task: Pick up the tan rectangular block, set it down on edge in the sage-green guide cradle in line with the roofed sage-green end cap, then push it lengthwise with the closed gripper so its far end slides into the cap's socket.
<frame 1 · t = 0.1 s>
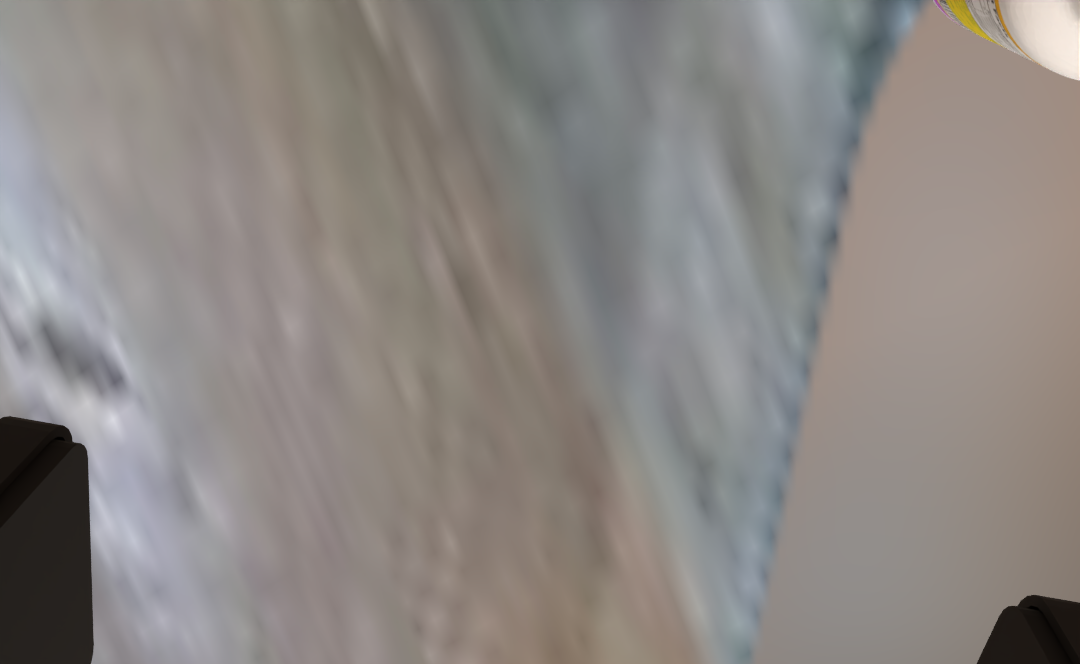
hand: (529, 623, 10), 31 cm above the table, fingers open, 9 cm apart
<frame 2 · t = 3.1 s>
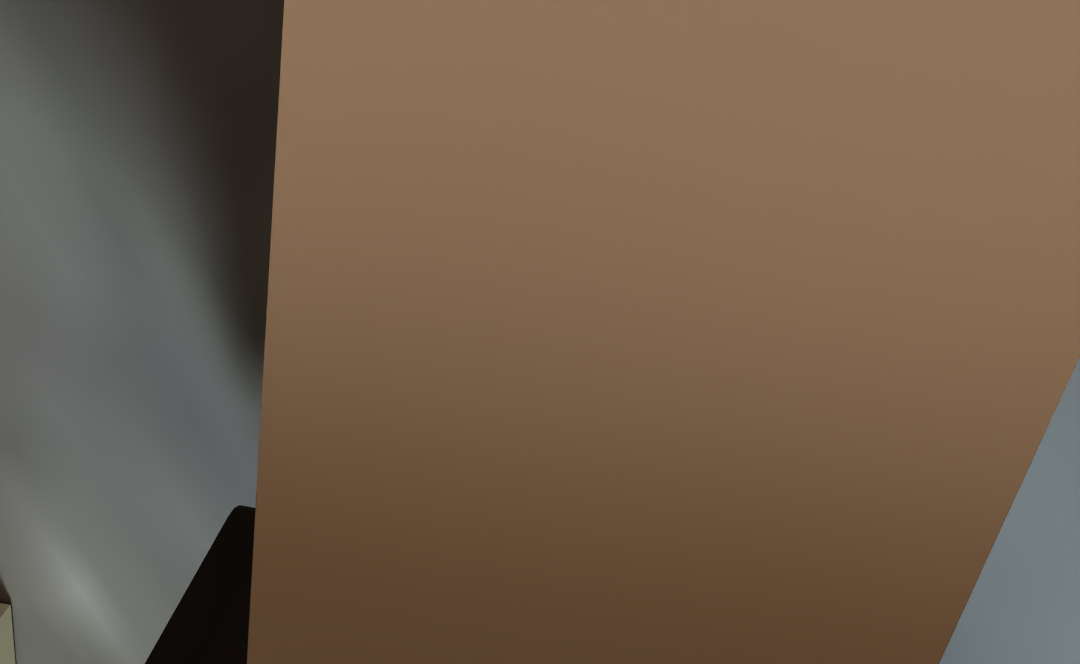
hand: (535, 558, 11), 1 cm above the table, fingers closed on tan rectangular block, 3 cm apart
tan rectangular block: (595, 242, 11), on the table, touching gripper
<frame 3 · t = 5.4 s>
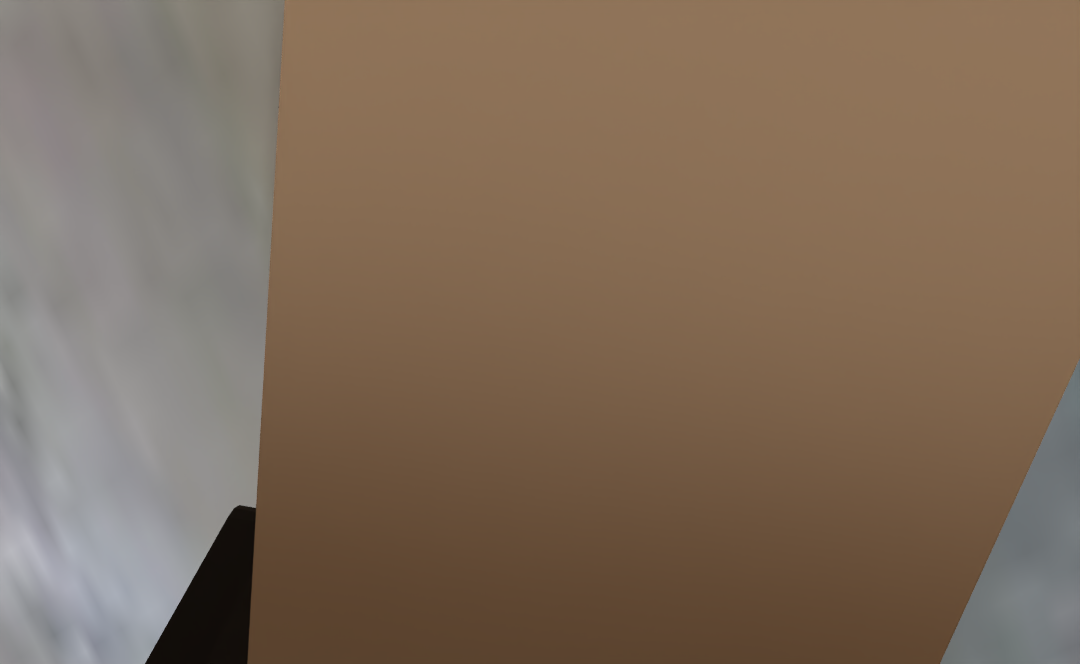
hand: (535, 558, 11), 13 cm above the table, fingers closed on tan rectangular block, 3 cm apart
tan rectangular block: (594, 248, 11), point 12 cm above the table, touching gripper
when the fingers open (2 cm above the table, at t = 7.6 s): tan rectangular block stays where it is, on the table.
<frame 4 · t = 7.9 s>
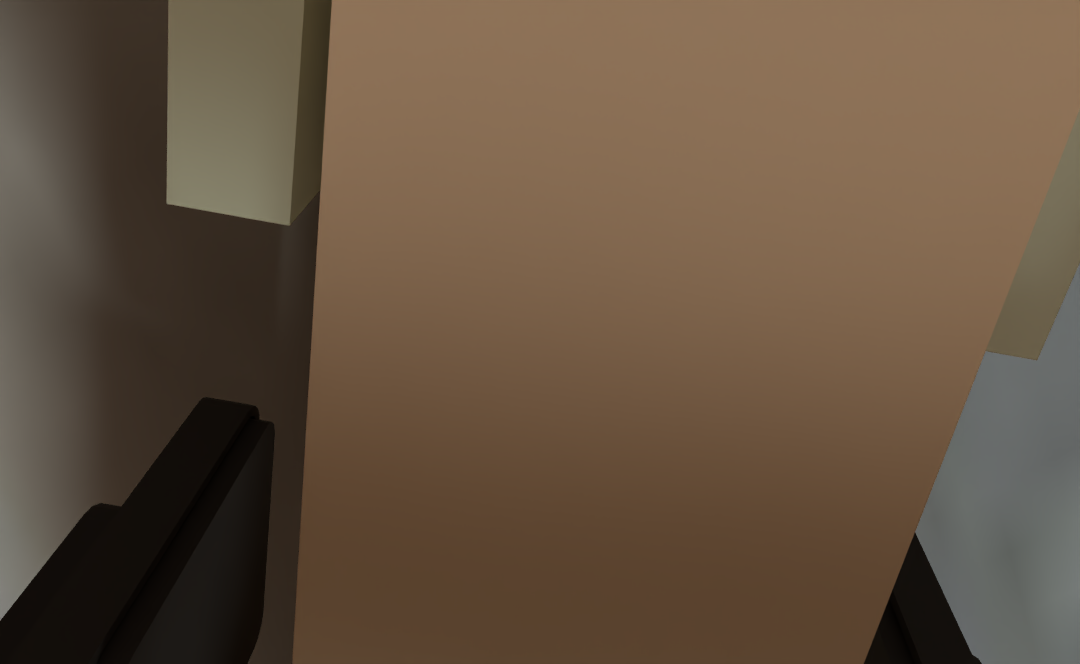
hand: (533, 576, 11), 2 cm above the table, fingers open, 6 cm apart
tan rectangular block: (596, 231, 11), on the table
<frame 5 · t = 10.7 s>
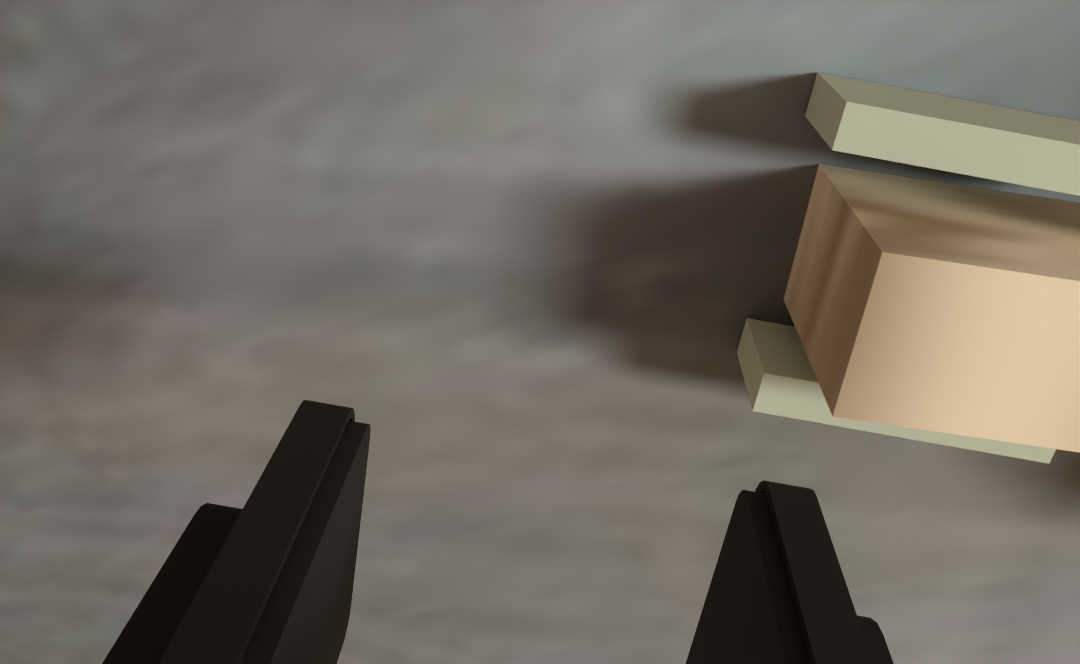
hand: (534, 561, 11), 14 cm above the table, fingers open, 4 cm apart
cradle: (916, 247, 24), on the table
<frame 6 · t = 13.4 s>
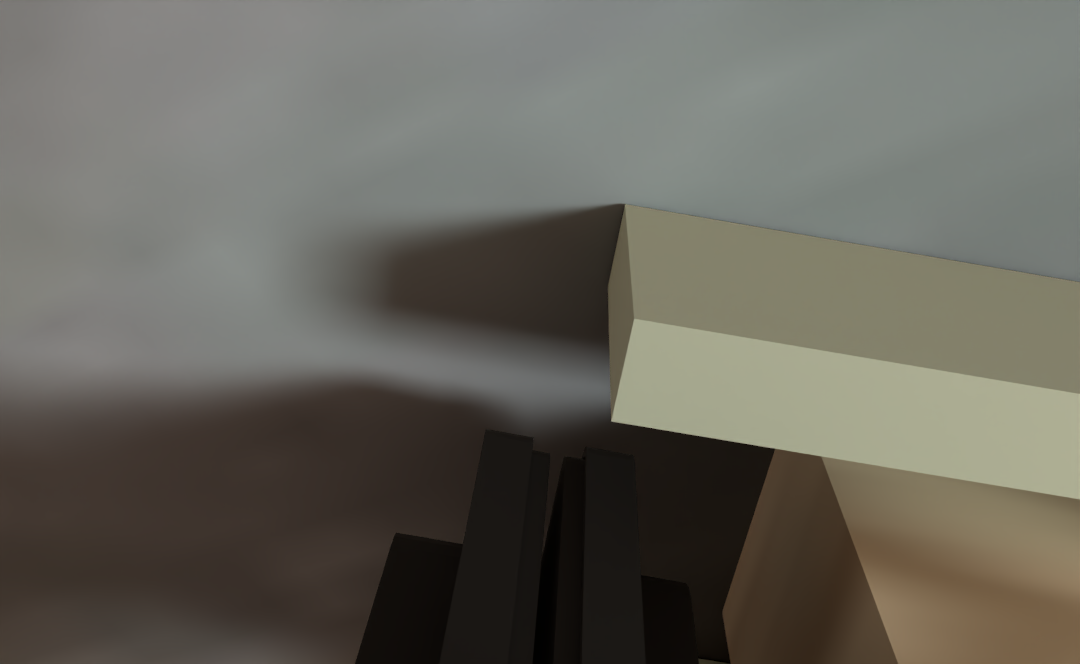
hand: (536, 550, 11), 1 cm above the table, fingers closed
cradle: (842, 520, 13), on the table
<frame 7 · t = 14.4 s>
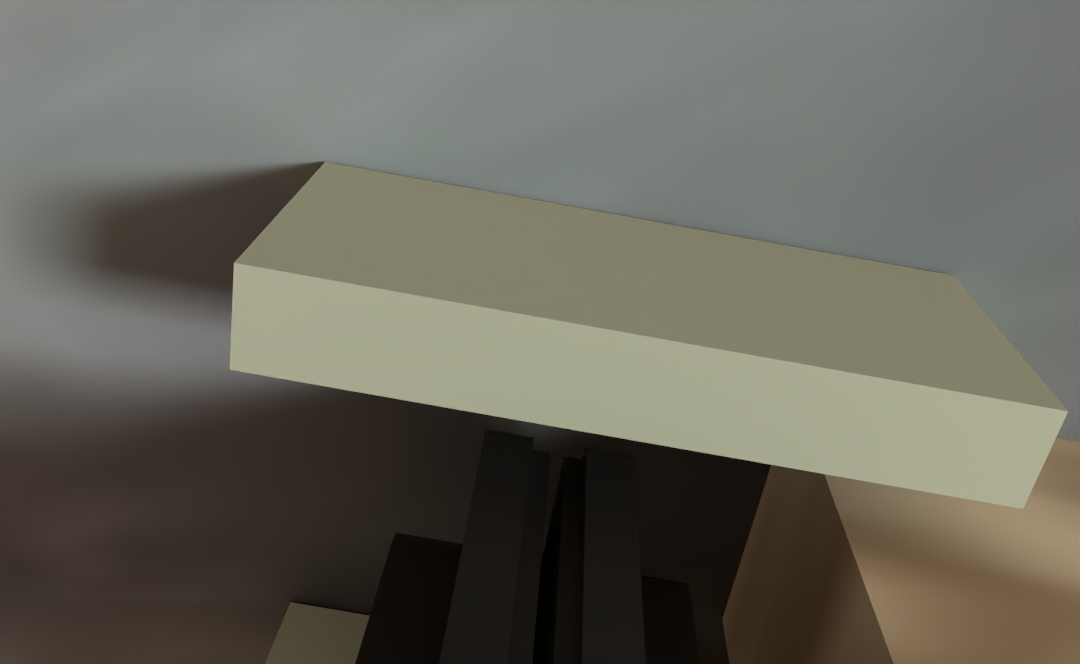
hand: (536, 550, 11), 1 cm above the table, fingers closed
cradle: (580, 488, 13), on the table
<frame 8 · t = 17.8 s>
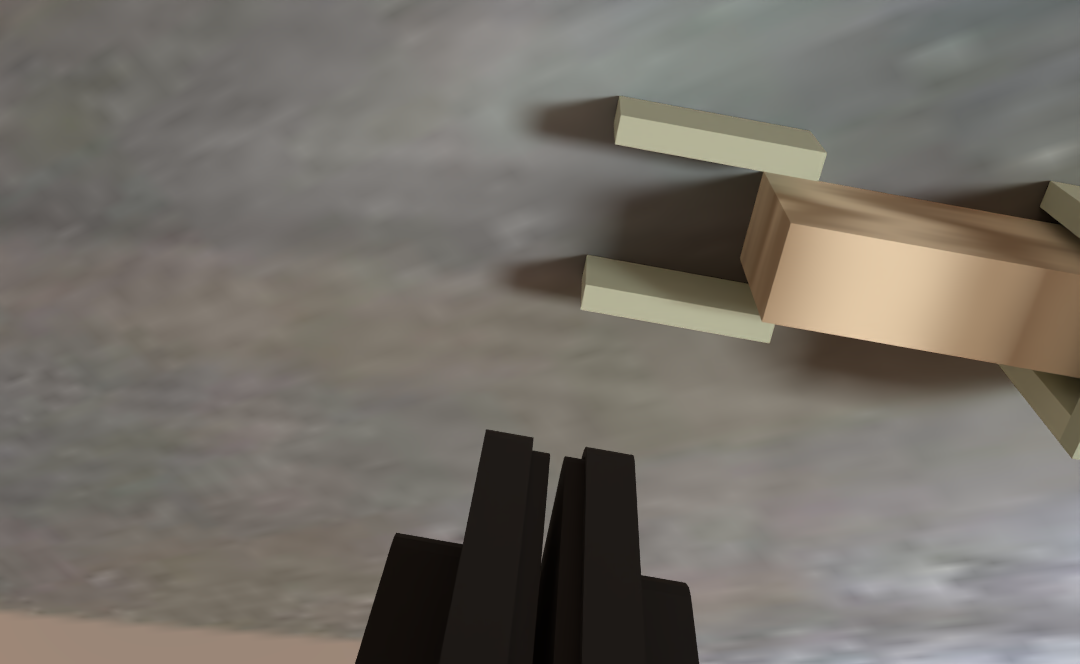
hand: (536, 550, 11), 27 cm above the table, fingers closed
tan rectangular block: (931, 246, 38), on the table
cradle: (691, 207, 38), on the table
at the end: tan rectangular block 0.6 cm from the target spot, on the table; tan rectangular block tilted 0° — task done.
